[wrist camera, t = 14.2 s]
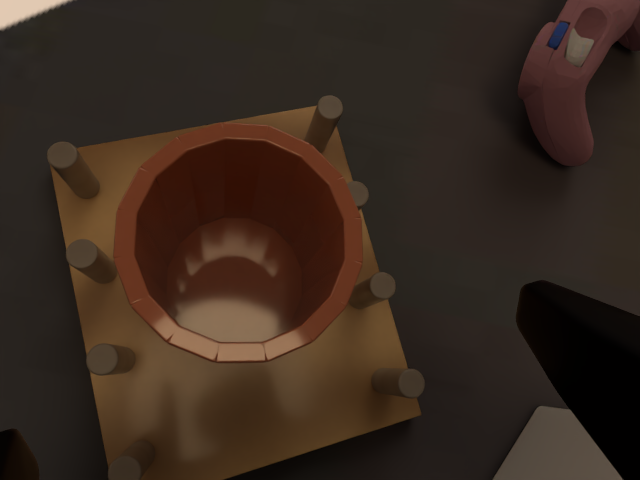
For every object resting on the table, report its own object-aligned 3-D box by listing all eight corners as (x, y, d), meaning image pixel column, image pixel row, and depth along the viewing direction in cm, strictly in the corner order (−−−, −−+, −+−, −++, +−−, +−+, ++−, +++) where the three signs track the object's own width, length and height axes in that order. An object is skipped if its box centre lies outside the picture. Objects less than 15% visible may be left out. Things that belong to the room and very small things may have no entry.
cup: (232, 397, 21) (240, 419, 13) (121, 283, 21) (57, 231, 13) (341, 285, 22) (409, 241, 14) (237, 181, 23) (246, 78, 15)
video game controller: (572, 22, 31) (601, -101, 25) (657, 44, 29) (711, -84, 23) (491, 148, 28) (502, 45, 22) (579, 181, 26) (617, 78, 20)
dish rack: (413, 412, 23) (458, 424, 18) (122, 507, 20) (94, 546, 16) (326, 112, 25) (347, 60, 21) (54, 161, 23) (15, 113, 18)
